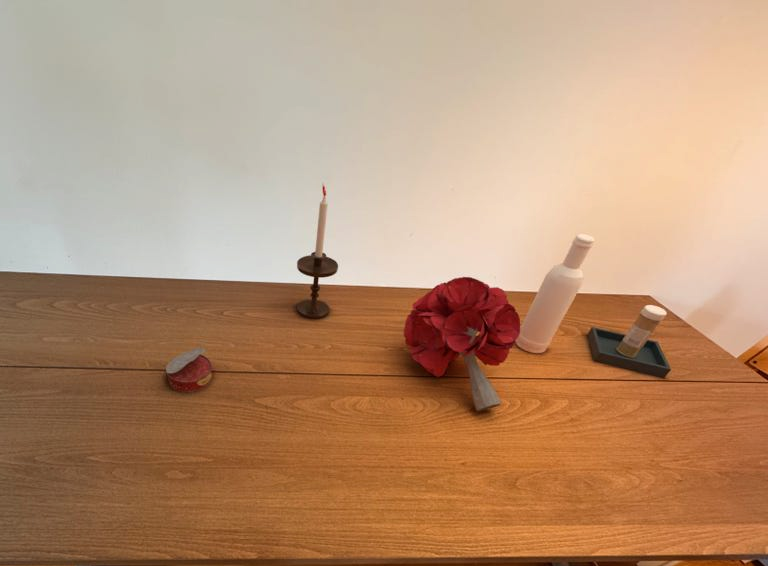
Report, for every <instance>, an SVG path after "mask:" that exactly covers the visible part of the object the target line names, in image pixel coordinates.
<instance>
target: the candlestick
mask: <svg viewBox="0 0 768 566" xmlns="http://www.w3.org/2000/svg"><path fill="white" fill-rule="evenodd" d="M322 195H323V196H322V199H321V201H320V202H319V208H318V219H317V229H316V240H315V251H313V252H311V253H310V254H309V255H305V256H302V257H300V258H299V259H298V260H297V262H296V269H297V271H298V272H300V274H302V275H305V276H307V277H312V278H313V282H312V284H311V285H310V286H309V288H310V291H311V293H309V296H310V297H311V299H304V300H301V301H300V302H298V304H297V307H296V308H297V309H296V311H297V313H298V315H300V316H301V317H303V318H305V319H308V320H321V319H324V318H326V317H327V316H328V315H329V312H330V306H329V305H328V304H327V303H326V302H324V301H322V300H320V299H317V298H319V297H320V294H319V293H318V292H319V291H320V290H321V285H320V284H319V280H320V279H319V278H323V279H324V278H329V277H332V276H334V275H336V274H337V273H338V271H339V263H338V262H337V261H336V260H335V259H333V258H331V257H328V256H327V253H325V252H323V251H324V243H325V234H326V224H327V223H326V222H327V216H328V215H327V214H328V204H329V203H328V201H327V198H326V196H327V190H326V187H325V185H324V184H322Z"/></svg>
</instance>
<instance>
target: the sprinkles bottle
mask: <svg viewBox="0 0 768 566" xmlns="http://www.w3.org/2000/svg"><path fill="white" fill-rule="evenodd" d="M667 314H668V313H667V311H666V310H665V309H664V308H662V307H659V306H657V305H652V304H647V305H645V306H643V308H642V309H641V311H640V314H639V315H638V317H637V318H636V320H635V321H634V322H633V324H632V325H631V326H630V328H629V330H628V331H627V333H625V334H626V335H625V337H624V338H623V340H622V342H621V343H620V345H619V346H618V347H617V348H616V350H617V352H618V353H619V354H621V355H623V356H625V357H629V358H634V357H635V356H636V355H637V353H638V352H639V350H640V349H641V347H643V345H644V344H645V343H646V341H647V340H649V338H650V336H651V335H652V334H653V332H654V331H655V330H656V328H657V327H658V325H659V324H660V323H661V322H662V321H663V320H664V318H665V317H666V316H667Z"/></svg>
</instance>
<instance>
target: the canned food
mask: <svg viewBox="0 0 768 566" xmlns="http://www.w3.org/2000/svg"><path fill="white" fill-rule="evenodd" d="M206 351H207V348H206V347H199V348H193V349H191V350H187V351H186V352H183V353H181V354H179V355H177V356H174V357H173V358H172V359H171V360H170V361H169V362H168V363H167V365H166V366H165V371H166V375H167V381H168V383H169V385H170V387H172V388H173V389H174V390H176V391H179V392H183V393H192V392H197V391H200V390H202V389H204V388H205V387H207V386H208V385H209V384H210V383H211V382H212V380H213V370H212V362H211V360H210V359H209V358H208V357H207V356H205V355H202V354H204V353H205V352H206ZM170 382H171V383H172V384H171V383H170ZM174 385H175V386H174ZM176 386H177V387H176ZM179 387H180V388H179ZM186 388H187V389H186Z"/></svg>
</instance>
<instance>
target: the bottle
mask: <svg viewBox="0 0 768 566" xmlns="http://www.w3.org/2000/svg"><path fill="white" fill-rule="evenodd" d="M594 242H595V238H594V237H593V236H591V235H590V234H589V235H588V234H585V233H579V234H577V235H576V236H575V237H574V239H573V240H572V244H571V246H570V248H569V249H568V252H567V254H566V256H565V257H564V260H563V261H562V263H558V264H556V265H554V266H553V267H551V269H550V270H548V271H547V273H546V274H545V276H544V278H543V280H542V282H541V285H540V287H539V288H538V291H537V293H536V294H535V297H534V299H533V301H532V303H531V305H530V307H529V309H528V311H527V313H526V315H525V318H524V319H523V321H522V324H521V325H520V334H519V337H518V338H517V339H516V340H515V341H516V344H515V345H516V346H518V347H519V348H520V350H523V351H526V352H528V353H531V354H532V353H533V354H542V353H544V352H546V350H547V349H548V347H549V346H550V344H551V342H552V340H553V338H554V336H555V334H556V332H557V331H558V328H559V327H560V325H561V324H562V321H564V320H563V319H565V316H566V314H567V313H568V311H569V309H570V307H571V305H572V303H573V302H574V300H575V298H576V296H577V294H578V292H579V291H580V289H581V287H582V286H583V283H584V272H583V271H582V270H581V266H582V264H583V263H584V261H585V258H586V257H587V255H588V253H589V251H590V249H591V248H592V247H593V246H594Z"/></svg>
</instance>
